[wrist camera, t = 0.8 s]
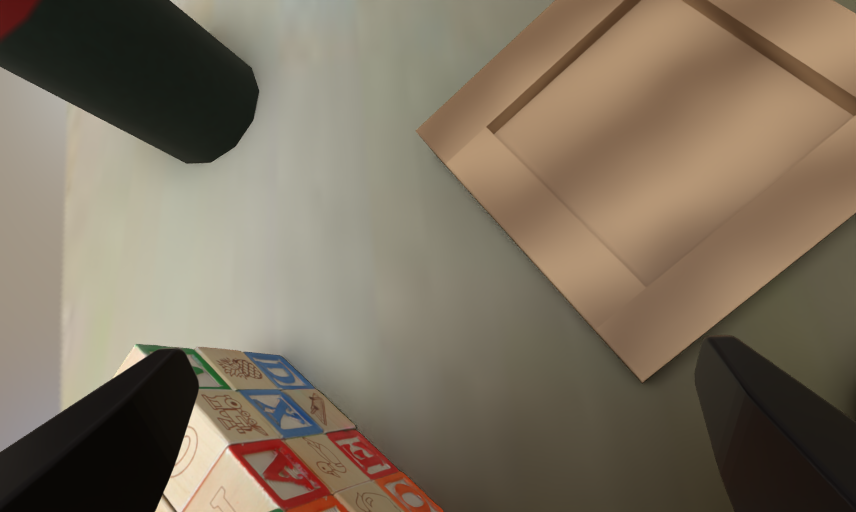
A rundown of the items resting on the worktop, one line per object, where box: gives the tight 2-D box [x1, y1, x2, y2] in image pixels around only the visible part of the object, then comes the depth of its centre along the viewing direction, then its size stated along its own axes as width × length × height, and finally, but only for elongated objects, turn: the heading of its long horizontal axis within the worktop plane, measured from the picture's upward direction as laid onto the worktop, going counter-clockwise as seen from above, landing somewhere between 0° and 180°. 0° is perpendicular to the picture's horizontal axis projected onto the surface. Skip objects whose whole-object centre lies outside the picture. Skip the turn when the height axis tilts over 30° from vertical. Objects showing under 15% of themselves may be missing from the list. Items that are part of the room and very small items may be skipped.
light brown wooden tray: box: [416, 0, 856, 383], centre depth 23 cm, size 15×15×3 cm
